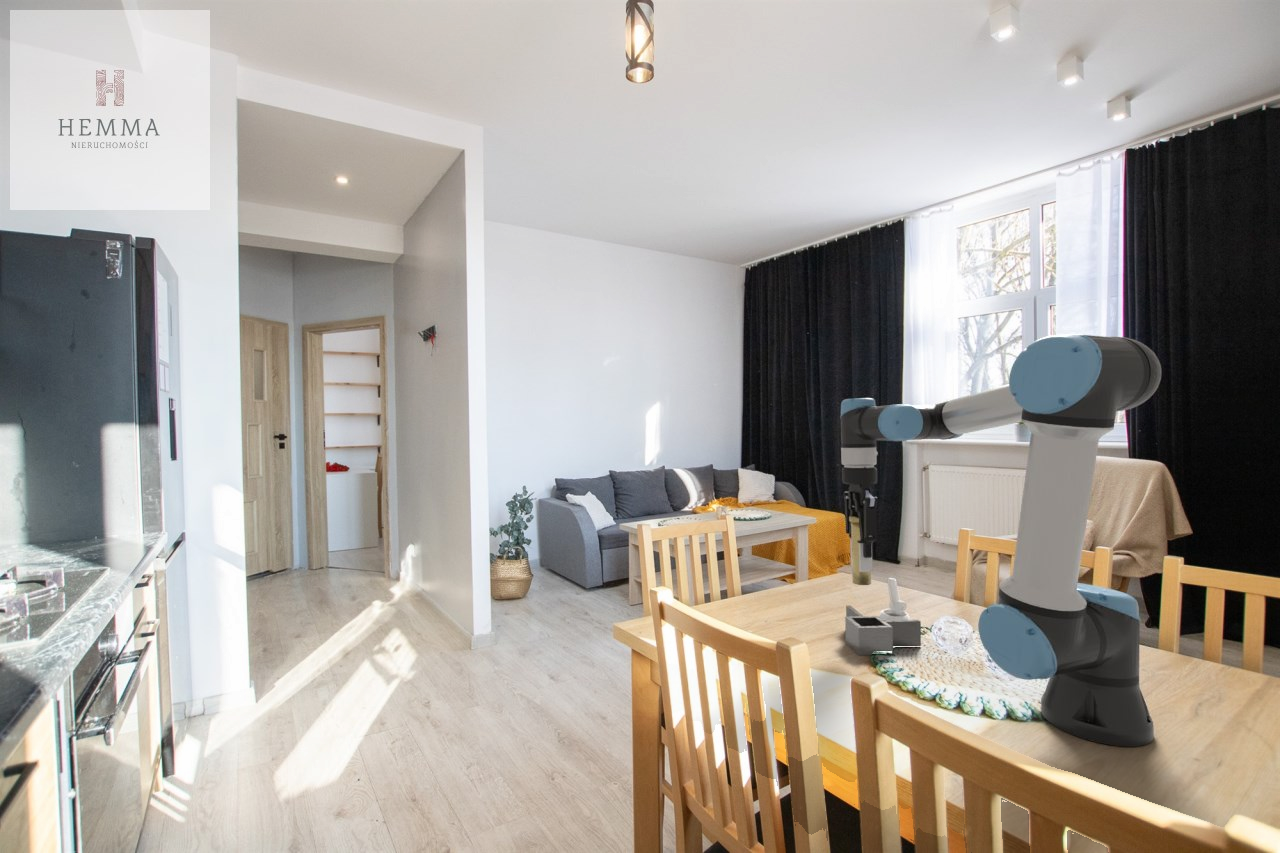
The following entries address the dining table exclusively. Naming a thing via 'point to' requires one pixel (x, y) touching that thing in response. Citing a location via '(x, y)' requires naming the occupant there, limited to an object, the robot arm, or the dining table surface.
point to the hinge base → (879, 632)
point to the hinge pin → (857, 555)
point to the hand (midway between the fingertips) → (861, 568)
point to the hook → (894, 604)
